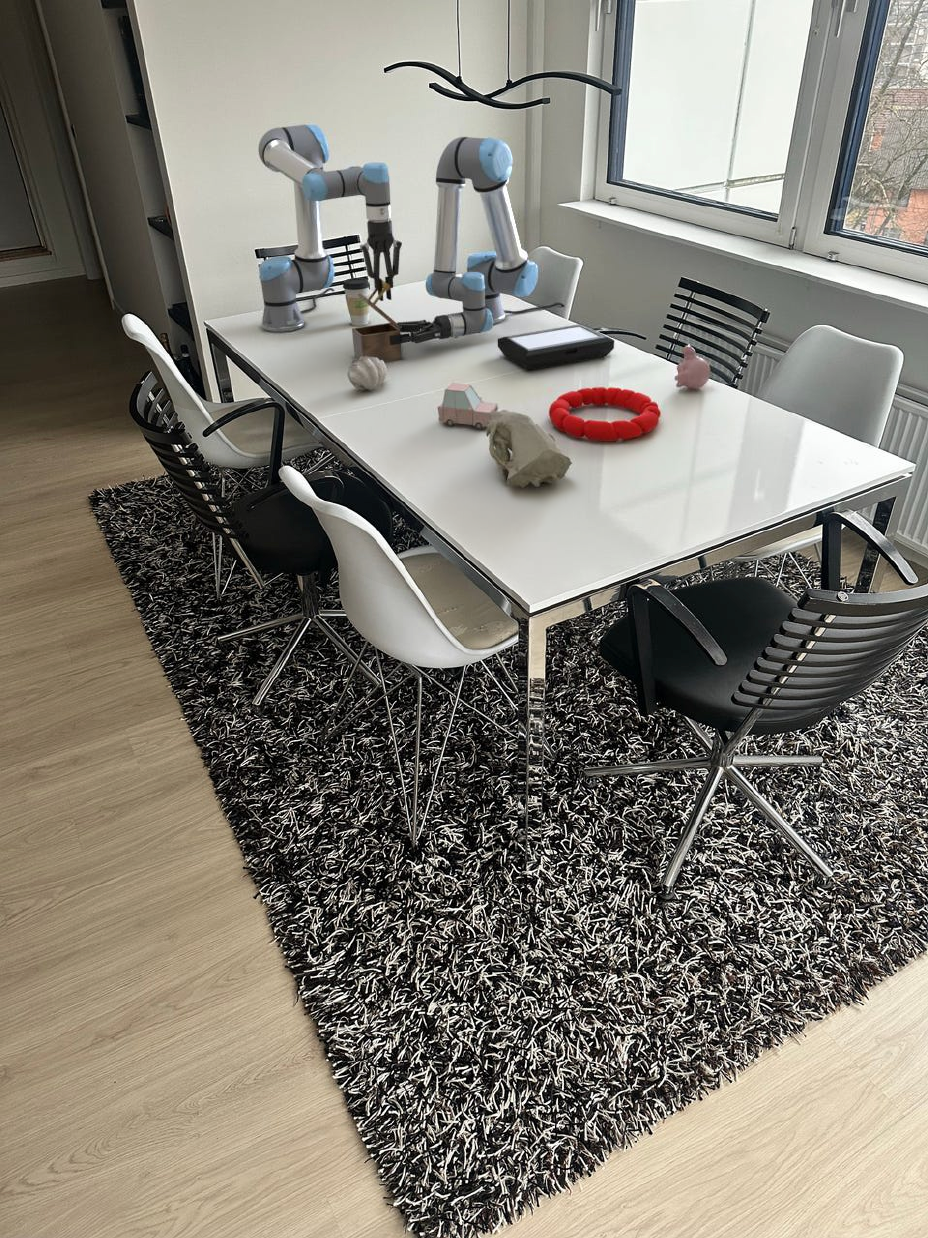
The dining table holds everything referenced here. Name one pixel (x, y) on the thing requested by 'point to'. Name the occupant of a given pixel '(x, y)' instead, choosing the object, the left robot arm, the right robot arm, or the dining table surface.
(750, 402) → the dining table surface
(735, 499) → the dining table surface
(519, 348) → the electronic device
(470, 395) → the toy car
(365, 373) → the seashell
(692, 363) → the figurine
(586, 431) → the decorative ring
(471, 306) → the right robot arm
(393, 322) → the lid
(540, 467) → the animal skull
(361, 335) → the chest
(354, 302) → the coffee cup
